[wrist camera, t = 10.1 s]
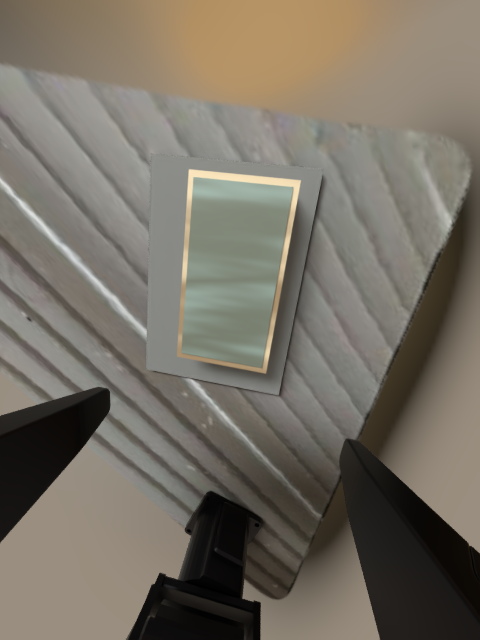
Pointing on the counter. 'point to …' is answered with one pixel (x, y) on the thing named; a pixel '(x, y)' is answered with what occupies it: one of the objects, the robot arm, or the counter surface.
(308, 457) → the counter surface
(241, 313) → the tile
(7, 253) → the counter surface
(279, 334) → the mat
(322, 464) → the counter surface
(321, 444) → the counter surface
